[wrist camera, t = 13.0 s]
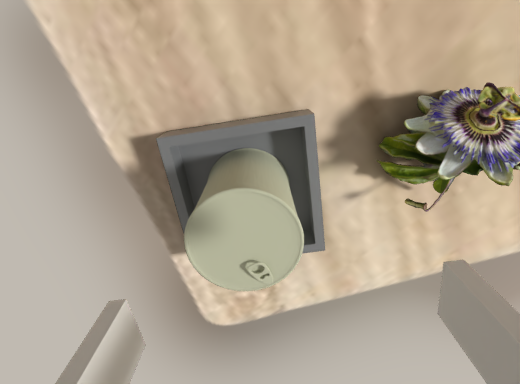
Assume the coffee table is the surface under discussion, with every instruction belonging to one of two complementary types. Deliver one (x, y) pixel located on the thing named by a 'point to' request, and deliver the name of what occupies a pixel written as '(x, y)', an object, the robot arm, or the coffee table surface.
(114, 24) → the coffee table surface
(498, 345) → the robot arm
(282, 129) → the tray
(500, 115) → the passion flower
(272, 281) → the can
